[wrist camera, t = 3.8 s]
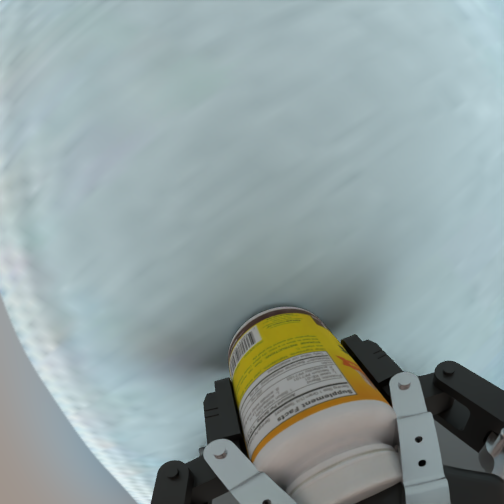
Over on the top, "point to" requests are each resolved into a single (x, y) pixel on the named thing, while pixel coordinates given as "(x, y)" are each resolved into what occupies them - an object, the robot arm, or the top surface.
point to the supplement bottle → (310, 410)
